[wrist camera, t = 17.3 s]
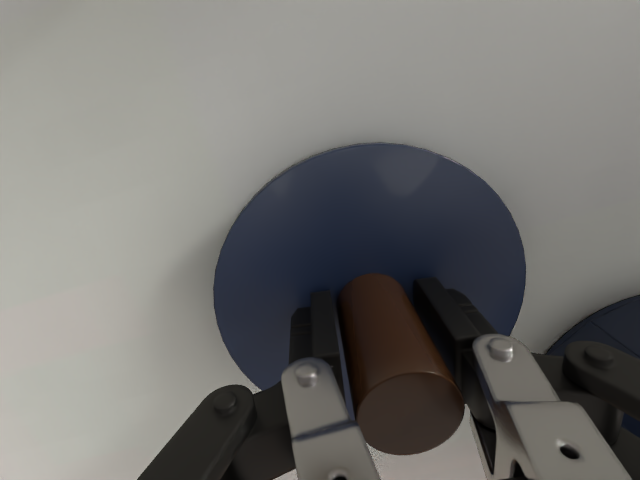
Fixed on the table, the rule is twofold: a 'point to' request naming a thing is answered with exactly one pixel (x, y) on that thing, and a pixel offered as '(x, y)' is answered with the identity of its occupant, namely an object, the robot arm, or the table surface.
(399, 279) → the lid
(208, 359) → the table surface
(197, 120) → the table surface
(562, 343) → the pot
